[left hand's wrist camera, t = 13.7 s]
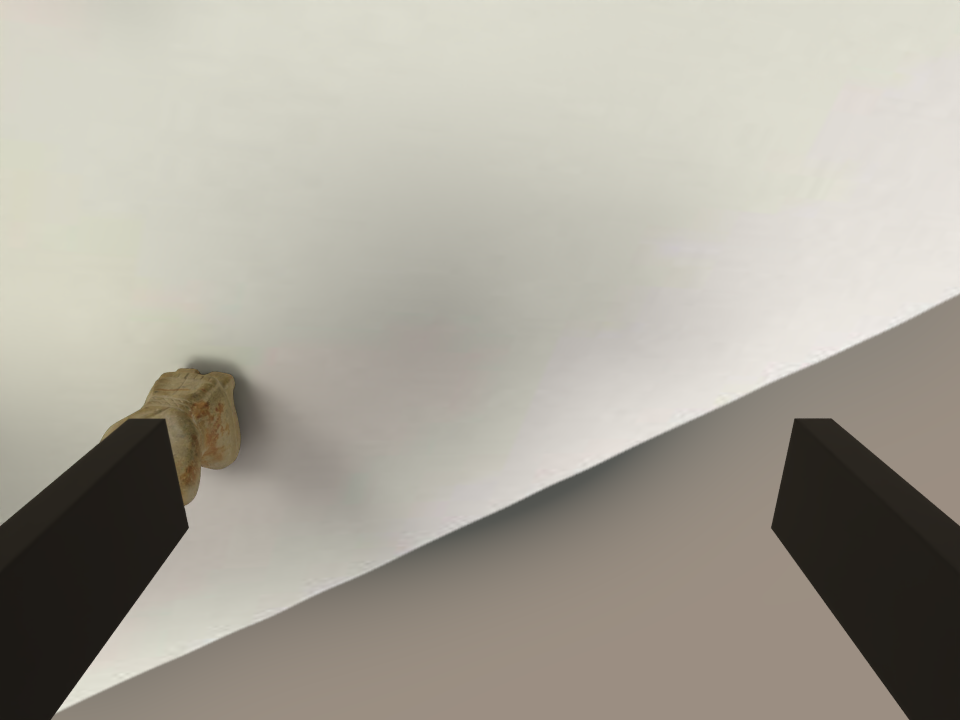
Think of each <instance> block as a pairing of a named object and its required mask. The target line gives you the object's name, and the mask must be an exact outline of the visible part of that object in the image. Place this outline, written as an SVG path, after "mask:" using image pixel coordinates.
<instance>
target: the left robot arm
mask: <svg viewBox="0 0 960 720" xmlns="http://www.w3.org/2000/svg"><path fill="white" fill-rule="evenodd" d="M188 528H189V526H188V522H187V517H186V512H185V508H184V503H183V498H182V494H181V489H180V484H179V480H178V475H177V470H176V466H175V461H174V456H173V452H172V447H171V442H170V438H169V433H168V428H167V424H166V419H127V420H126V421H125V422H124V423H123V424H121V425H120V426H119V427H118V428H117V429H116V430H114V431H113V432H112V433H111V434H110V435H108V436H107V437H106V438H105V439H104V440H102V441H101V442H100V443H99V444H98V445H96V446H95V447H94V448H93V449H92V450H90V451H89V452H88V453H87V454H86V455H85V456H83V457H82V458H81V459H80V460H79V461H77V462H76V463H75V464H74V465H73V466H71V467H70V468H69V469H68V470H67V471H65V472H64V473H63V474H62V475H61V476H59V477H58V478H57V479H56V480H55V481H54V482H52V483H51V484H50V485H49V486H48V487H46V488H45V489H44V490H43V491H42V492H40V493H39V494H38V495H37V496H36V497H34V498H33V499H32V500H31V501H30V502H28V503H27V504H26V505H25V506H24V507H23V508H21V509H20V510H19V511H18V512H17V513H15V514H14V515H13V516H12V517H11V518H9V519H8V520H7V521H6V522H5V523H3V524H2V525H1V526H0V720H51V719H52V717H53V716H54V714H55V713H56V712H57V710H58V709H59V707H60V706H61V705H62V703H63V702H64V701H65V699H66V698H67V696H68V695H69V694H70V692H71V691H72V689H73V688H74V687H75V685H76V684H77V683H78V681H79V680H80V678H81V677H82V676H83V674H84V673H85V671H86V670H87V669H88V667H89V666H90V664H91V663H92V662H93V660H94V659H95V658H96V656H97V655H98V653H99V652H100V651H101V649H102V648H103V646H104V645H105V644H106V642H107V641H108V639H109V638H110V637H111V635H112V634H113V633H114V631H115V630H116V628H117V627H118V626H119V624H120V623H121V621H122V620H123V619H124V617H125V616H126V614H127V613H128V612H129V610H130V609H131V608H132V606H133V605H134V603H135V602H136V601H137V599H138V598H139V596H140V595H141V594H142V592H143V591H144V590H145V588H146V587H147V585H148V584H149V583H150V581H151V580H152V578H153V577H154V576H155V574H156V573H157V571H158V570H159V569H160V567H161V566H162V565H163V563H164V562H165V560H166V559H167V558H168V556H169V555H170V553H171V552H172V551H173V549H174V548H175V546H176V545H177V544H178V542H179V541H180V540H181V538H182V537H183V535H184V534H185V533H186V531H187V530H188ZM771 528H772V530H773V531H774V533H775V534H776V535H777V537H778V538H779V540H780V541H781V542H782V544H783V545H784V546H785V548H786V549H787V551H788V552H789V553H790V555H791V556H792V558H793V559H794V560H795V562H796V563H797V565H798V566H799V567H800V569H801V570H802V571H803V573H804V574H805V576H806V577H807V578H808V580H809V581H810V582H811V584H812V585H813V587H814V588H815V589H816V591H817V592H818V594H819V595H820V596H821V598H822V599H823V601H824V602H825V603H826V605H827V606H828V608H829V609H830V610H831V612H832V613H833V614H834V616H835V617H836V619H837V620H838V621H839V623H840V624H841V626H842V627H843V628H844V630H845V631H846V632H847V634H848V635H849V637H850V638H851V639H852V641H853V642H854V644H855V645H856V646H857V648H858V649H859V651H860V652H861V653H862V655H863V656H864V657H865V659H866V660H867V662H868V663H869V664H870V666H871V667H872V669H873V670H874V671H875V673H876V674H877V676H878V677H879V678H880V680H881V681H882V682H883V684H884V685H885V687H886V688H887V689H888V691H889V692H890V694H891V695H892V696H893V698H894V699H895V701H896V702H897V703H898V705H899V706H900V707H901V709H902V710H903V712H904V713H905V714H906V716H907V717H908V719H909V720H960V526H959V525H958V524H957V523H955V522H954V521H953V520H952V519H951V518H949V517H948V516H947V515H946V514H945V513H943V512H942V511H941V510H940V509H939V508H937V507H936V506H935V505H934V504H933V503H931V502H930V501H929V500H928V499H927V498H926V497H924V496H923V495H922V494H921V493H920V492H918V491H917V490H916V489H915V488H914V487H912V486H911V485H910V484H909V483H908V482H906V481H905V480H904V479H903V478H902V477H900V476H899V475H898V474H897V473H896V472H895V471H893V470H892V469H891V468H890V467H889V466H887V465H886V464H885V463H884V462H883V461H881V460H880V459H879V458H878V457H877V456H875V455H874V454H873V453H872V452H871V451H870V450H868V449H867V448H866V447H865V446H864V445H862V444H861V443H860V442H859V441H858V440H856V439H855V438H854V437H853V436H852V435H850V434H849V433H848V432H847V431H846V430H844V429H843V428H842V427H841V426H840V425H839V424H837V423H836V422H835V421H834V420H833V419H794V424H793V428H792V433H791V438H790V442H789V447H788V452H787V456H786V461H785V466H784V470H783V475H782V480H781V484H780V489H779V494H778V498H777V503H776V508H775V513H774V517H773V522H772V526H771Z"/></svg>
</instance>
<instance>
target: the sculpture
mask: <svg viewBox="0 0 960 720" xmlns="http://www.w3.org/2000/svg"><path fill="white" fill-rule="evenodd" d="M234 388H235V382H234V378H233V376H232V375H230V374H227V373H222V372H211V373H209V374H205V375H201V374H200V372H199V371H198V370H196V369H183V368H181V369H178V370H177V371H176V372H167V373H164V374H162V375H161V377H160V378H159V379H158V380H157V381H156V382H155V384H154V385H153V387H152V389H151V391H150V392H149V394H148V396H147V399H146V401H145V404H144V406H143V407H142V408H141V409H140V410H138V411H137V412H135V413H133V414H131V415H129V416H127V417H126V418H124V419H122V420H120V421H118V422H117V423H115V424H114V425H112V426H111V427H110V428H109V429H108V430H107V431H106V433H105V434H104V436H103V437H102V439H101V441H102V440H104V439H105V438H106V437H107V436H108V435H110V434H111V433H112V432H113V431H114V430H116V429H117V428H118V427H119V426H120V425H121V424H123V423H124V422H125V421H126V420H127V419H166V424H167V428H168V433H169V438H170V442H171V447H172V452H173V456H174V461H175V466H176V470H177V475H178V480H179V484H180V489H181V494H182V498H183V503H184V506H185V505H187V504H189V503H190V502H191V501H192V500H193V499H194V497H195V496H196V494H197V491H198V487H199V482H200V474H201V466H202V467H206V468H210V469H216V470H217V469H223V468H225V467H227V466H229V465H230V464H231V463H233V462H234V461H235V459H236V457H237V455H238V452H239V449H240V443H241V435H240V428H239V423H238V417H237V413H236V410H235V406H234V401H233V389H234ZM101 441H100V442H101Z"/></svg>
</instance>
